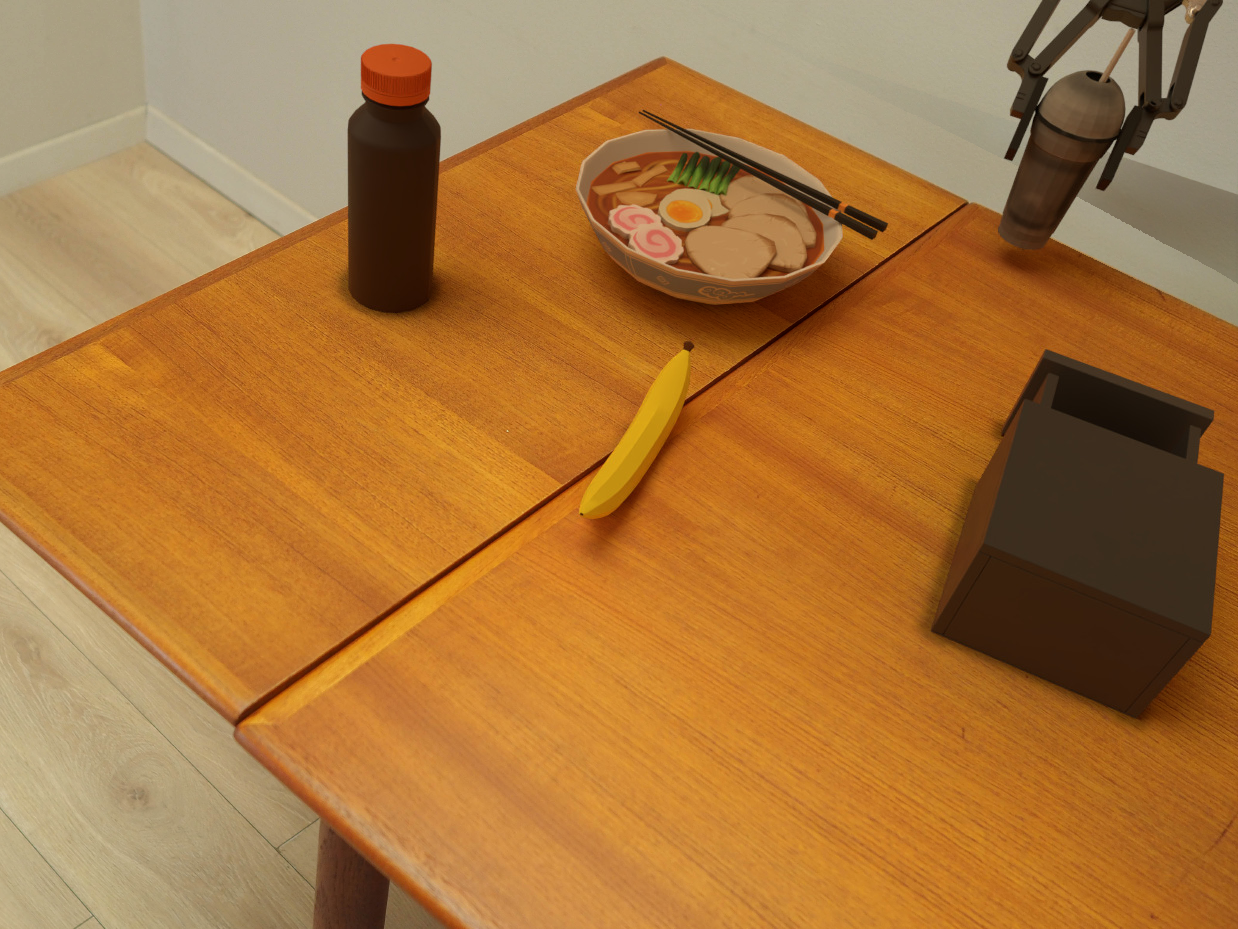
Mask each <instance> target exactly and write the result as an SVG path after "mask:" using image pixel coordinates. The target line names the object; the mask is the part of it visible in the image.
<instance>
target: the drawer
mask: <svg viewBox="0 0 1238 929" xmlns="http://www.w3.org/2000/svg"><path fill="white" fill-rule="evenodd" d="M1024 399H1027V400H1030V401H1033V402H1035V403H1038V404H1041V405H1043V406H1046V407H1049V408H1051V409H1054V410H1057V411H1059V412H1062V413H1065V414H1067V415H1070V416H1073V417H1075V418H1078V419H1081V420H1083V421H1086V422H1088V423H1091V424H1094V425H1096V426H1099V427H1102V428H1104V429H1107V430H1110V431H1112V432H1115V433H1118V434H1120V435H1123V436H1126V437H1128V438H1131V439H1134V440H1136V441H1139V442H1142V443H1144V444H1147V445H1150V446H1152V447H1155V448H1157V449H1160V450H1163V451H1165V452H1168V453H1171V454H1173V455H1176V456H1179V457H1181V458H1184V459H1187V460H1189V461H1192V462H1195V463H1197V464H1199V463H1198V462H1199V454H1200V453H1199V452H1200V444H1201V438H1202V436H1203V435H1205V433H1206V431H1207V430H1208V429H1209V428H1210V426H1211V424H1212V423H1213V422H1214V420H1215V410H1214V409H1211V408H1208V407H1206V406H1203V405H1200V404H1197V403H1195V402H1192V401H1189V400H1186V399H1184V398H1182V397H1179V396H1176V395H1173V394H1171V393H1169V392H1165V391H1162V390H1160V389H1156V388H1154V387H1152V386H1148V385H1146V384H1143V383H1141V382H1137V381H1135V380H1132V379H1129V378H1126V377H1124V376H1121V375H1119V374H1117V373H1112V372H1110V371H1107V370H1105V369H1102V368H1099V367H1097V366H1094V365H1091V364H1088V363H1086V362H1083V361H1080V360H1077V359H1075V358H1072V357H1070V356H1067V355H1064V354H1061V353H1058V352H1056V351H1052V350H1050V349H1048V348H1045V349H1044V350H1043V353H1042V354H1041V356H1040V358H1039V360H1038V361H1037V363H1036V365H1035V367H1034V368H1033V371H1032V372H1031V374H1030V376H1029V377H1028V379H1027V382H1026V383H1025V385H1024V387H1023V388H1022V390H1021V392H1020V394H1019V396H1018V398H1017V399H1016V401H1015V403H1014V405H1013V406H1012V409H1011V411H1010V412H1009V413H1008V416H1007V417H1006V419H1005V422H1004V423H1003V425H1002V428H1001V432H1000V434H1001V435H1003V436H1004V435H1005V433H1006V431H1007V430H1008V428H1009V426H1010V424H1011V422H1012V421H1013V419H1014V417H1015V415H1016V414H1017V412H1018V410H1019V408H1020V406H1021V405H1022V403H1023V401H1024Z"/></svg>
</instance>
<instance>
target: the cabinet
mask: <svg viewBox="0 0 1238 929" xmlns="http://www.w3.org/2000/svg"><path fill="white" fill-rule="evenodd" d="M1224 478H1225V473H1223V472H1222V471H1218V470H1215V469H1213V468H1210V467H1208V466H1205V465H1202V464H1200V463H1195V462H1192V461H1189V460H1187V459H1184V458H1181V457H1179V456H1176V455H1173V454H1171V453H1168V452H1165V451H1163V450H1160V449H1157V448H1155V447H1152V446H1150V445H1147V444H1144V443H1142V442H1139V441H1136V440H1134V439H1131V438H1128V437H1126V436H1123V435H1120V434H1118V433H1115V432H1112V431H1110V430H1107V429H1104V428H1102V427H1099V426H1096V425H1094V424H1091V423H1088V422H1086V421H1083V420H1081V419H1078V418H1075V417H1073V416H1070V415H1067V414H1065V413H1062V412H1059V411H1057V410H1054V409H1051V408H1049V407H1046V406H1043V405H1041V404H1038V403H1035V402H1033V401H1030V400H1027V399H1024V401H1023V403H1022V405H1021V406H1020V408H1019V410H1018V412H1017V414H1016V415H1015V417H1014V419H1013V421H1012V422H1011V424H1010V426H1009V428H1008V430H1007V431H1006V433H1005V435H1004V434H1003V436H1002V439H1001V440H1000V442H999V444H998V446H997V448H996V449H995V451H994V453H993V455H992V456H991V458H990V459H989V462H988V464H987V466H986V467H985V468H984V471H983V473H982V474H981V476H980V478H979V479H978V482H977V483H976V485H975V486H974V489H973V493H972V496H971V500H970V502H969V505H968V509H967V512H966V514H965V519H964V521H963V522H964V523H963V525H962V528H961V531H960V535H959V538H958V541H957V544H956V547H955V551H954V554H953V557H952V560H951V563H950V567H949V570H948V572H947V577H946V580H945V582H944V587H943V589H942V592H941V596H940V599H939V602H938V606H937V609H936V612H935V616H934V618H933V622H932V625H931V628H930V632H931V633H933V634H936V635H938V636H941V637H943V638H945V639H948V640H950V641H952V642H955V643H957V644H960V645H961V646H964V647H966V648H969V649H970V650H973V651H976V652H978V653H980V654H983V655H985V656H988V657H989V658H992V659H994V660H997V661H999V662H1001V663H1004V664H1006V665H1008V666H1010V667H1013V668H1015V669H1018V670H1020V671H1022V672H1024V673H1028V674H1030V675H1031V676H1034V677H1036V678H1039V679H1041V680H1043V681H1046V682H1048V683H1051V684H1053V685H1056V686H1058V687H1060V688H1062V689H1064V690H1067V691H1069V692H1071V693H1074V694H1077V695H1079V696H1081V697H1083V698H1085V699H1088V700H1091V701H1092V702H1095V703H1097V704H1100V705H1102V706H1105V707H1107V708H1109V709H1112V710H1114V711H1116V712H1119V713H1121V714H1123V715H1125V716H1128V717H1130V718H1133V719H1135V720H1137V719H1138V718H1139V717H1140V716H1141V715H1142V714H1143V712H1144V711H1145V710H1146V709H1147V708H1148V707H1149V706H1150V704H1151V703H1152V702H1153V701H1154V700H1155V699H1156V698H1157V696H1158V695H1159V694H1160V693H1161V692H1162V691H1163V690H1164V689H1165V688H1166V686H1168V684H1169V683H1170V682H1171V681H1172V680H1173V679H1174V678H1175V676H1176V675H1177V674H1178V673H1179V672H1180V670H1182V669H1183V667H1184V666H1185V665H1186V664H1187V663H1188V662H1189V660H1191V659H1192V657H1193V656H1194V655H1195V654H1196V653H1197V652H1198V650H1199V649H1201V647H1202V646H1203V645H1204V644H1205V642H1207V640H1208V639H1209V638H1210V637H1211V636H1212V628H1213V615H1214V603H1215V591H1216V590H1215V589H1216V579H1217V566H1218V555H1219V543H1220V529H1221V516H1222V505H1223V495H1224V494H1223V493H1224V481H1225V479H1224Z"/></svg>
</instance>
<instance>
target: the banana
mask: <svg viewBox="0 0 1238 929" xmlns="http://www.w3.org/2000/svg"><path fill="white" fill-rule="evenodd" d="M694 348H695V344H694V342H692V341H690V340H685V341H684V342H683V348H682V350H680V351H679V352H678V353H677V354H676V355H674V356H673V357H671V359H670V360H669V361H668V362H666V364H665V366H664V367H663V368H662V369H661V371H660V372H659V374H658V375H657V377H656V378H655V379H654V381H653V383H652V384H651V386H650V388H649V389H648V391H647V393H646V395H645V397H644V399H643V401H642V403H641V404H640V407H639V409H638V410H637V412H636V414H635V416H634V417H633V420H632V421H631V422H630V425H629V426H628V427H627V429H626V431H625V433H624V434H623V435H622V437H621V439H620V440H619V442H618V443H617V445H616V446H615V448H614V449H613V450H612V452H611V453H610V454H609V456H608V457H607V459H606V460H605V462H604V463H603V465H602V466H601V467H600V468H599V470H598V471H597V473H596V474H595V476H594V477H593V478H592V480H591V482H590V483H589V484H588V485H587V488H586V489H585V491H584V493H583V495H582V498H581V501H580V505H579V509H578V515H579V516H580V517H582V518H583V519H588V520H595V519H597V520H598V519H601V518H605V517H607V516H609V515H610V514H612V513H613V512H615V511H616V510H617V509H618V508H619V507H620V506H621V505H622V504H623V502H625V500H627V498H628V497H629V496H630V495H631V494H632V492H633V491H634V490H635V488H636V487H637V486H638V485H639V483H640V482H641V481H642V479H643V477H644V476H645V475H646V473H647V472H648V470H649V468H650V467H651V465H652V464H653V463H654V461H655V459H656V457H657V456H658V455H659V453H660V451H661V449H662V448H663V446H664V444H665V443H666V441H667V440H668V437H669V436H670V434H671V432H672V430H673V428H674V426H675V425H676V422H677V420H678V418H679V416H680V415H681V413H682V410H683V407H684V404H685V401H686V399H687V395H688V391H689V386H690V381H691V375H692V374H691V372H692V363H691V351H692V350H693V349H694Z"/></svg>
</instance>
